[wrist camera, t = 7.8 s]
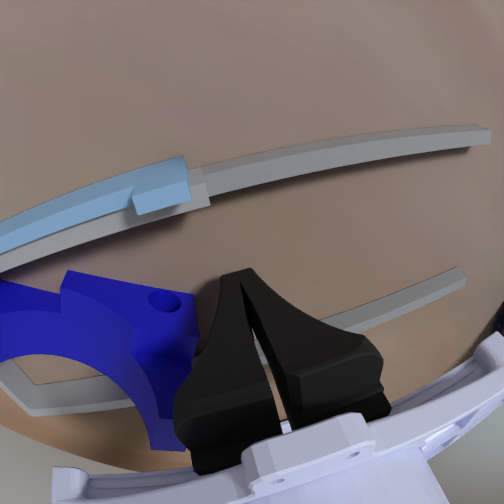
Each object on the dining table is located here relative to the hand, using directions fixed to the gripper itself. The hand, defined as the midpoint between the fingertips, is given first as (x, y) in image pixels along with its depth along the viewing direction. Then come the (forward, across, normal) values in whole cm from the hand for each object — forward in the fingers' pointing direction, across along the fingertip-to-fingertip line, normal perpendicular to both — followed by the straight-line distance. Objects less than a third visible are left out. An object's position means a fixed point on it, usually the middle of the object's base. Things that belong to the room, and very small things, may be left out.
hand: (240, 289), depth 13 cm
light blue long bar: (+1, +8, -6) cm, 10 cm away
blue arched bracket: (+2, +8, -1) cm, 9 cm away
